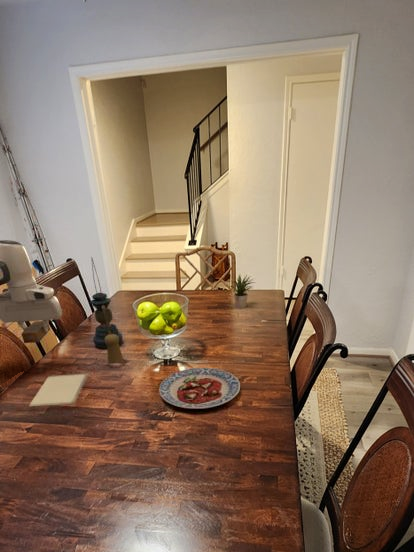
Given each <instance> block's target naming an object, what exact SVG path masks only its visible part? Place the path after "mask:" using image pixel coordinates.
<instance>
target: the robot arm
mask: <svg viewBox="0 0 414 552" xmlns="http://www.w3.org/2000/svg"><path fill="white" fill-rule="evenodd" d="M5 284H6V287H7V290H8V293H5V294H4V293H3V294H2V293H1V294H0V321H1V322H3V323H5V324H6V323H17V325H18V327H20V328H21V329H22V330H23V331H24V330H26V329H27V328H28V327H29V326H26V324H25V322H34V321H43V323H45V325H44V326H43V327H42V330H43V332H48V327H47V326H48V323H50V321H53V320H60V318H61V317H62V316H63V310H62V307H61V304H60V301H59V299H58V298H57V297H56V296H55V295H54V294H55V290H54V288H52V287H49V286H45V285H41V284H37V280H36V278H35V277H34V274H33V266H32V263H31V259H30V257H29V254H28V252H27V250H26V248H25V246H24V245H23V244H22V243H20V242H19V241H16V240H10V239H8V240H7V239H2V240H0V287H1V286H4V285H5ZM48 333H49V332H48Z"/></svg>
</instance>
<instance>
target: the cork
mask: <svg viewBox="0 0 414 552" xmlns="http://www.w3.org/2000/svg"><path fill="white" fill-rule="evenodd" d="M105 343H106V344H107V349H106V352H107V353H106V354H107V362H108V363H109V364H121V365H122V364H124V363H125V360H124V359H125V358H124V356H123V354H122V350H121V347H120V345H119V344H118V343H119V337H118V336H117V335H115V334H110V335H107V336H106V337H105Z"/></svg>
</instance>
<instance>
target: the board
mask: <svg viewBox="0 0 414 552" xmlns="http://www.w3.org/2000/svg"><path fill="white" fill-rule="evenodd" d="M88 376H89V373H74V374H59V375H58V374H57V375H48V376H47V378H46V380H45V381H44V383H43V384H42V385H41V387H40V388H39V390H38V391H37V393H36V394H35V396H34V398H33V399H32V400H31V401H30V404H29V405H28V407H39V406H40V407H41V406H54V405H56V406H57V405H68V404H69V405H71V404H75V402H77V401H76V400H77V398H78V397H79V395H80V393H81V390H82V388H83V387H84V384H85V382H86V380H87V378H88Z"/></svg>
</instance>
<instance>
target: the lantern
mask: <svg viewBox="0 0 414 552" xmlns="http://www.w3.org/2000/svg"><path fill="white" fill-rule="evenodd" d="M90 259H91V268H92V269H91V270H94V271H95V274H96V278H97V281H98V285H99V291H100V292H98V291H97V285H96V282H95V274H94V272H92V278H93V284H94V289H95V293H94V294H93V295H91V297H92V300H90V304H91V305H92V307H94V308H95V311H94V317H95V320H96V322H97V323H99V325H97V326H96V327H95V332H94V336H93V343H94V345H95V346H96V348H98V349H100V350H101V349H102V350H107V344H106V343H105V337H106V336H107V335H110V334H115V335H117V336H118V337H119V343H118V344H119V346H120V345H122V343H123V334H122V333H121V332H119V329H118V328H117V325H116V324H114V323H112V320H113V317H114V316H113V312H112V310H111V309H110V308H109V305H110V304H111V301H112V299H111V298H109V297H108V295H107V293H104V292H102V289H101V288H102V287H101V284H100V279H99V276H98V273H97V269H96V265H95V262H94V258H93V256H91V257H90Z"/></svg>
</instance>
